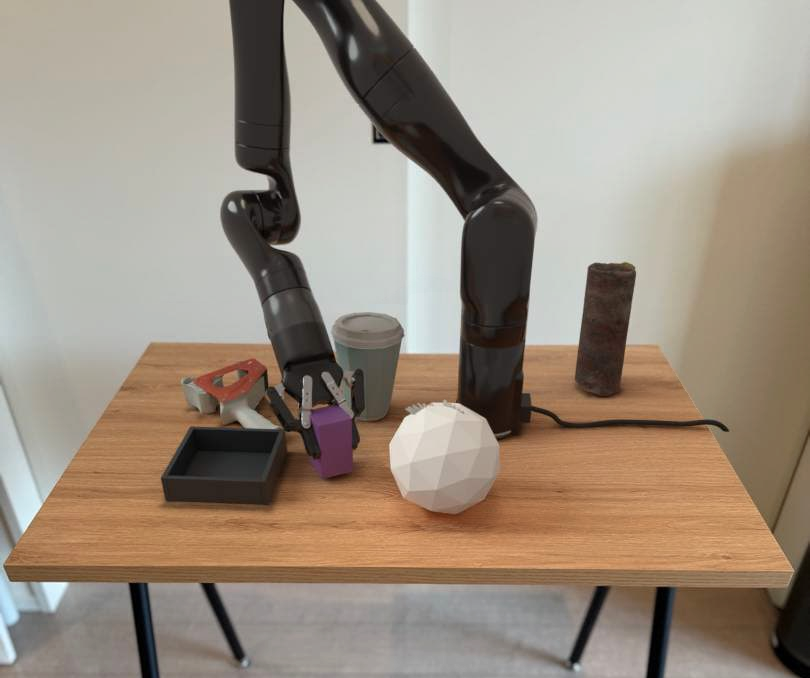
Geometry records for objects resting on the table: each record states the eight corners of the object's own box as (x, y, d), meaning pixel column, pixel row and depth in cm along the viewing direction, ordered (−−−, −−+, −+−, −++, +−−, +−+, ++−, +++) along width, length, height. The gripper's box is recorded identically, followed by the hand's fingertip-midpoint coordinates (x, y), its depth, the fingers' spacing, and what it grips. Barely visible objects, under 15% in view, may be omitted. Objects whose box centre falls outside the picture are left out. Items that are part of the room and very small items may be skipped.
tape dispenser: (279, 462, 115) (306, 390, 130) (277, 431, 111) (305, 361, 126) (159, 450, 116) (200, 381, 131) (153, 419, 112) (195, 351, 127)
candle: (565, 390, 130) (582, 267, 118) (580, 373, 135) (597, 253, 123) (611, 401, 127) (633, 275, 115) (625, 383, 132) (647, 261, 120)
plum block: (310, 463, 109) (306, 410, 104) (340, 455, 110) (338, 403, 106) (322, 479, 106) (318, 425, 101) (353, 471, 107) (351, 418, 102)
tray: (287, 455, 113) (285, 429, 111) (268, 510, 103) (265, 481, 100) (195, 452, 114) (190, 426, 112) (166, 505, 103) (160, 478, 101)
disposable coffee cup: (338, 395, 128) (333, 304, 119) (405, 396, 128) (406, 305, 119) (331, 428, 120) (325, 332, 111) (403, 429, 120) (403, 334, 110)
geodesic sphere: (347, 485, 96) (419, 407, 88) (371, 428, 108) (437, 353, 100) (442, 555, 100) (520, 486, 92) (456, 493, 112) (526, 426, 103)
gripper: (249, 329, 100) (289, 458, 99) (354, 311, 105) (394, 433, 104) (241, 353, 107) (279, 473, 106) (340, 334, 112) (377, 449, 111)
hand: (336, 452), depth 105 cm, fingers closed on plum block, 4 cm apart
